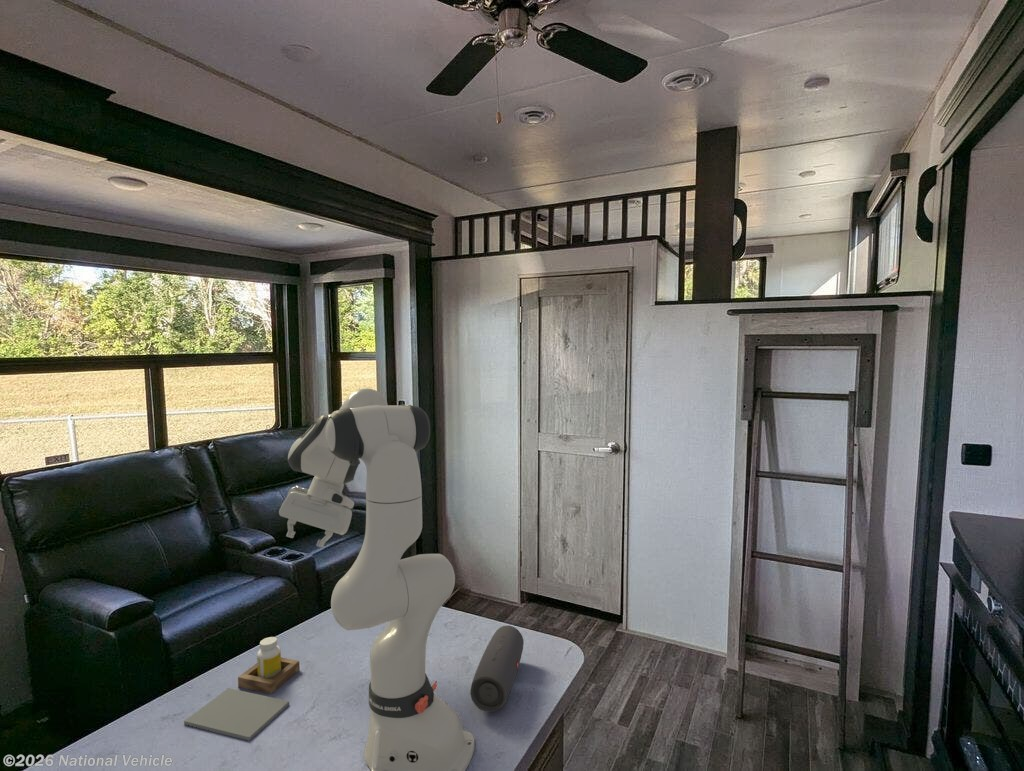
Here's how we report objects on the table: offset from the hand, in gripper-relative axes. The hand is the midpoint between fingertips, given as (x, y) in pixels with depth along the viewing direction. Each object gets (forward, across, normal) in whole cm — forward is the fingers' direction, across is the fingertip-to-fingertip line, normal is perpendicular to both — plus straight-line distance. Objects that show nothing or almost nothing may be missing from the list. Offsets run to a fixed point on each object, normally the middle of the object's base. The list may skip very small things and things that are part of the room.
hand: (304, 542), depth 142 cm
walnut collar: (+33, +5, 0) cm, 34 cm away
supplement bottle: (+33, +5, 0) cm, 34 cm away
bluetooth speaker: (+18, +62, +1) cm, 65 cm away
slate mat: (+38, +7, -12) cm, 41 cm away
